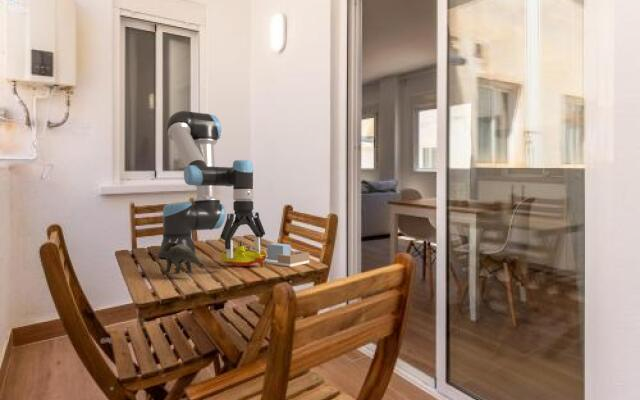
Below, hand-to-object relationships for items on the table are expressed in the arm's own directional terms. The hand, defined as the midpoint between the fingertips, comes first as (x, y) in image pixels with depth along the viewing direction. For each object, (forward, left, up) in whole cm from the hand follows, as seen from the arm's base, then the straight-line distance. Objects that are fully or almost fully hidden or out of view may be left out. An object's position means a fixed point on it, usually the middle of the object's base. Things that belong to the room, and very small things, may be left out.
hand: (244, 255), depth 147 cm
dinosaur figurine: (-9, -22, -4) cm, 24 cm away
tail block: (+3, +16, -3) cm, 17 cm away
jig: (-4, +16, -4) cm, 17 cm away
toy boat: (0, 0, -4) cm, 4 cm away
